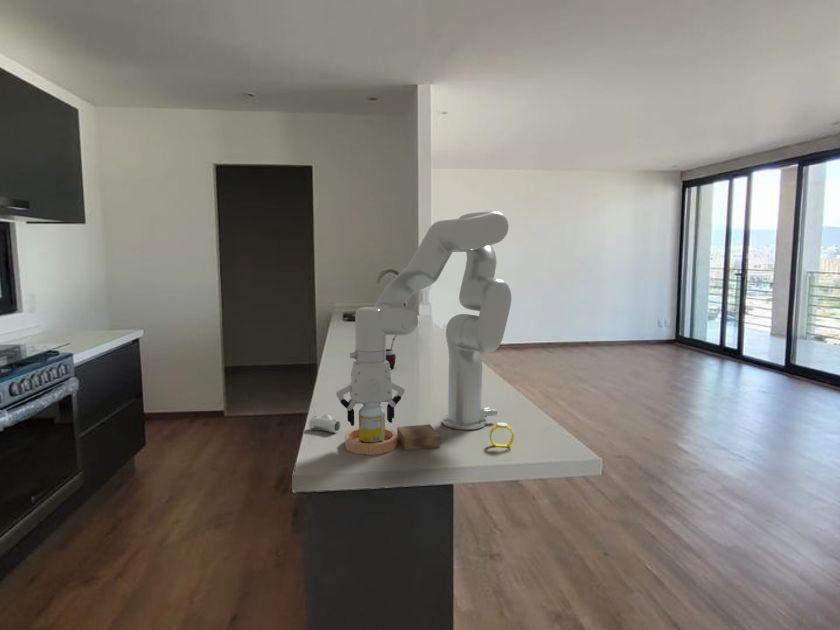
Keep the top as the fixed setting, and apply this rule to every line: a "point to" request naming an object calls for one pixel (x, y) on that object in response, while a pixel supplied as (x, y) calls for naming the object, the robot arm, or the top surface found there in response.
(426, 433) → the walnut stand
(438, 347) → the top surface
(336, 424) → the pipe fitting
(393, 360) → the mate gourd
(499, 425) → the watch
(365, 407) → the pill bottle
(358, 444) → the ring dish
